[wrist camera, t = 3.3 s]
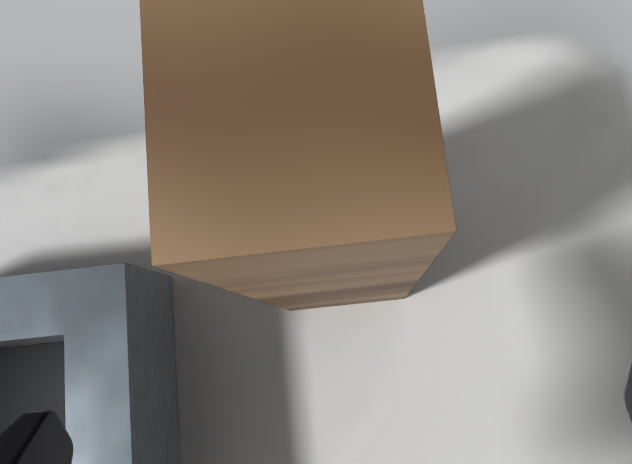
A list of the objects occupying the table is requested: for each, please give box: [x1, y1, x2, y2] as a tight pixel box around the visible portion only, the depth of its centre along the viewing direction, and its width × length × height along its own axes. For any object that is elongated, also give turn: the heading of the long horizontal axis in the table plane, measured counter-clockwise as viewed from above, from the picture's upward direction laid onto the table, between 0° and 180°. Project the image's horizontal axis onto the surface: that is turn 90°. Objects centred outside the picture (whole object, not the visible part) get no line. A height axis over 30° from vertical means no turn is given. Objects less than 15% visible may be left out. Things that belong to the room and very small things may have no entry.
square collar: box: [0, 263, 181, 464], centre depth 19 cm, size 9×9×4 cm
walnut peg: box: [140, 0, 456, 311], centre depth 14 cm, size 4×4×13 cm
